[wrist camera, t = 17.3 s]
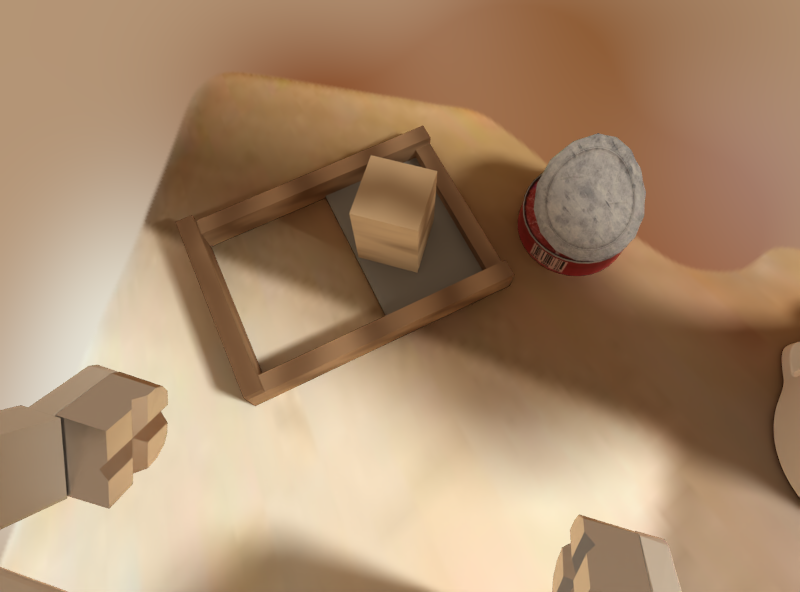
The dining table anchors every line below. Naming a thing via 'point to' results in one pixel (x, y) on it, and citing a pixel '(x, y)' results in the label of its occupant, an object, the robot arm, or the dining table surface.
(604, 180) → the canned food
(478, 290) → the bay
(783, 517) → the dining table surface
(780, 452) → the robot arm
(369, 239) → the tan wooden block
